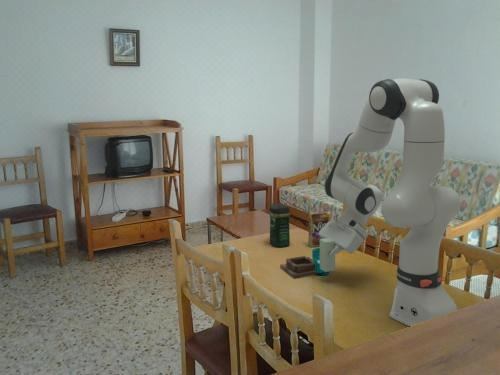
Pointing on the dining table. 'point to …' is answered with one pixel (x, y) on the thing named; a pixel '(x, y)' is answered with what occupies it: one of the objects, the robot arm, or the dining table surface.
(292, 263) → the walnut cradle
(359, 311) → the dining table surface
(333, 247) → the sage block
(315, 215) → the candy box
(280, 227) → the coffee jar
